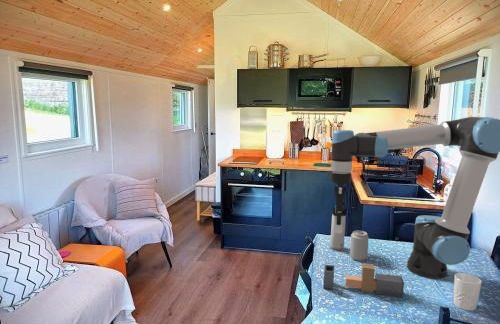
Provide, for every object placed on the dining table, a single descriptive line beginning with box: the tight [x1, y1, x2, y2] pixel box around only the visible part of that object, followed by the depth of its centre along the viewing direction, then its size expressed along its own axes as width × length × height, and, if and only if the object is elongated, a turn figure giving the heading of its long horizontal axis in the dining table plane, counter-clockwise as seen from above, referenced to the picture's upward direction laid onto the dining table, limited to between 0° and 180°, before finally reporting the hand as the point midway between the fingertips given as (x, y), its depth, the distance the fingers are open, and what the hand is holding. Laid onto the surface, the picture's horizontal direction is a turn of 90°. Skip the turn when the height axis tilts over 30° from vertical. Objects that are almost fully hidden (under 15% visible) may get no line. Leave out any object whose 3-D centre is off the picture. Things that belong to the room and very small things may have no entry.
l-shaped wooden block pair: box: [345, 262, 377, 293], centre depth 131 cm, size 18×4×9 cm, turn 77°
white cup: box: [453, 272, 482, 312], centre depth 122 cm, size 8×8×10 cm
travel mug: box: [329, 206, 348, 252], centre depth 169 cm, size 6×7×20 cm
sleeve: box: [374, 272, 405, 299], centre depth 130 cm, size 9×5×6 cm, turn 77°
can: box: [349, 230, 370, 262], centre depth 159 cm, size 8×8×12 cm
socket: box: [323, 264, 335, 291], centre depth 134 cm, size 4×6×7 cm, turn 167°
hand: (338, 226), depth 136 cm, fingers open, 13 cm apart
